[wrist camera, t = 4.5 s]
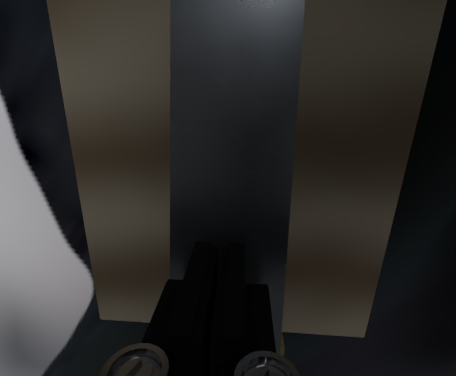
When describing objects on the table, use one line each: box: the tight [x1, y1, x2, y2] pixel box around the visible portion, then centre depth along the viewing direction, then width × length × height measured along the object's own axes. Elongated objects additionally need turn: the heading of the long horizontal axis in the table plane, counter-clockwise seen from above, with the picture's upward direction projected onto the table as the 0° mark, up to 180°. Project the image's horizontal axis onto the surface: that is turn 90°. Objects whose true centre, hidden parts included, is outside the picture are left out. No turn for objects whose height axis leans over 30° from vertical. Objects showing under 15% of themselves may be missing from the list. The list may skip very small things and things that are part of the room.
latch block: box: [47, 0, 447, 357], centre depth 14 cm, size 20×14×8 cm
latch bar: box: [170, 0, 305, 354], centre depth 10 cm, size 16×4×1 cm, turn 179°
